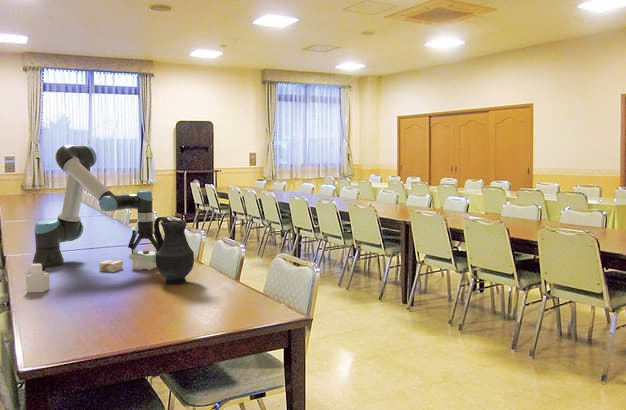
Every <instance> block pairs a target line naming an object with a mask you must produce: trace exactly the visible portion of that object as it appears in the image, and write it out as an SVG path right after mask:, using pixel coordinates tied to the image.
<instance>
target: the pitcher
mask: <svg viewBox="0 0 626 410" xmlns="http://www.w3.org/2000/svg"><path fill="white" fill-rule="evenodd" d="M160 225H161V227H162V230H163V233H164V234H163V235H164V237H163V236H162V233H161V229H160ZM187 225H188V223H187V220H180V219H179V220H176V219H175V220H171V219H169V218H167V217H166V216H158V217H156V219H155V220H154V221H153V231H155V235H156V238H157V241H158V244H159V248H160V249H159V251H158V252H157V253H156V266H157V268H156V269H157V271H158V272H159V274H160V275H161V276H162V277H163V278H165V282H164V284H166V285H169V284H170V285H173V286H174V285H175V286H176V285H183V284H186V283H187V279H186V277H187V276H188V275H189V274H190V273H191V272H192V270H193V267H194V265H195V252H194V250H193V249H192V248H191V247H190V245H189V243H188V242H189V241H188V240H187V236H186V234H185V230H186V227H187ZM157 241H156V242H157ZM170 285H169V286H170Z"/></svg>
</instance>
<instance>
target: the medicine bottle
mask: <svg viewBox="0 0 626 410" xmlns="http://www.w3.org/2000/svg"><path fill="white" fill-rule="evenodd" d="M25 281H26V293H31V294H32V293H45V292H46V291H48V290H50V289H51V286H50V284H51V283H50V282H51V281H50V272H46V267H45V264H44V263H33V262H32V263H31V264H30V265H29V274H28V275H26V277H25Z"/></svg>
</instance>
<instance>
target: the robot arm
mask: <svg viewBox="0 0 626 410" xmlns="http://www.w3.org/2000/svg"><path fill="white" fill-rule="evenodd" d="M55 160H56V161H55V162H56V164H57V166H58V167H59V168H60V169H61V170H62V171H63V172H64V173H65V174H68V176H67V181H66V185H65V186H66V187H65V192H64V199H63V203H62V204H63V205H62V208H61V213H60V214H58V216H57V219H54V218H52V219H44V220H41V221H37V222H35V225H34V239H35V240H34V241H35V251H34V252H35V253H34V255H33V258H32V259H33V260H32V264H33V263H44V264H45V268H49V267H50V268H51V267H52V268H53V267H56V266H61V265H64V264H65V259H64V257H63V254H62V251H61V247H60V246H61V245H60V244H61V243H66V242H73V241H75V240H79V238H81V236H82V235H83V234H84V225H83V222H82V218H81V217H80V215H79V214H80V209H81V204H82V199H83V194H84V193H83V192H84V189H85V190H86V191H88V193H89V194H91V195H92V196H93V198H95V199H96V200H97V201H98V203H99V204H98V206H99V207H100V209H101V210H102V211H104V212H115V211H121V210H128V209H129V210H130V209H131V210H135V209H136V210H137V220H138V221H137V229H133V230H132V232H131V233H132V234H131V237H130V240H129V243H128V246H127V248H128V249H131V254H133V253H137V252H138V248H137V247H138V245H139V244H140V242H141V241H142V240H144V239H145V240H149V241H150V242H151V244H152V246H153V247H154V248H155V250H154V252H155V263H156V253H157V252H158V251H159V249H160V248H159V244H158V241H157V238H156V235H155V231H154V221H153V220H154V217H153V215H154V213H153V212H154V211H153V200H154V199H153V192H152V191H151V190H138V191H137V192H136V194H133V193H131V194H130V193H120V194H118V195H117V194H116V195H115V194H114V192H112V191H111V190H110V189H108V187H107V186H105V185H104V184H103V183H102V182H101V181H100V180H99V178H97V177H96V176H95V175H93V174H92V172H91V167H93V166H95V164H96V162H97V160H98V159H97V154H96V152H95V149H94V148H92V147H91V146H89V145H84V144H64V145H62V146H61V147H59V148H58V149H57V151H56V152H55ZM137 234H138V235H137Z"/></svg>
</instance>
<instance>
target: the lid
mask: <svg viewBox="0 0 626 410" xmlns="http://www.w3.org/2000/svg"><path fill="white" fill-rule="evenodd" d="M128 255H129V259H128V260H131V261H132V260H146V261H151V260H154V259H155V250H154V251H152V250H151V251H150V250H149V249H148V250H147V249H144V250H140V251H137V253H133V254H132V253H131V254H128Z"/></svg>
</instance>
